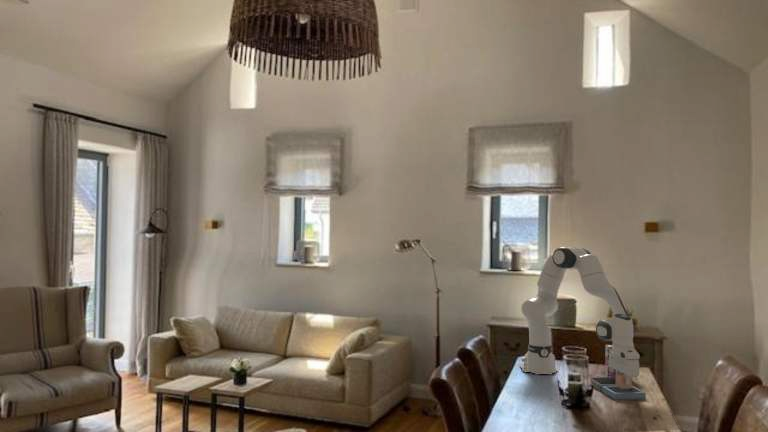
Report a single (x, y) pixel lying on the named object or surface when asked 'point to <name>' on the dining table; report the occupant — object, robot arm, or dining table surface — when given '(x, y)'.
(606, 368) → the candy bar box
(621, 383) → the terracotta block
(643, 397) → the slate tray
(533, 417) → the dining table surface
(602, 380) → the charcoal bin
